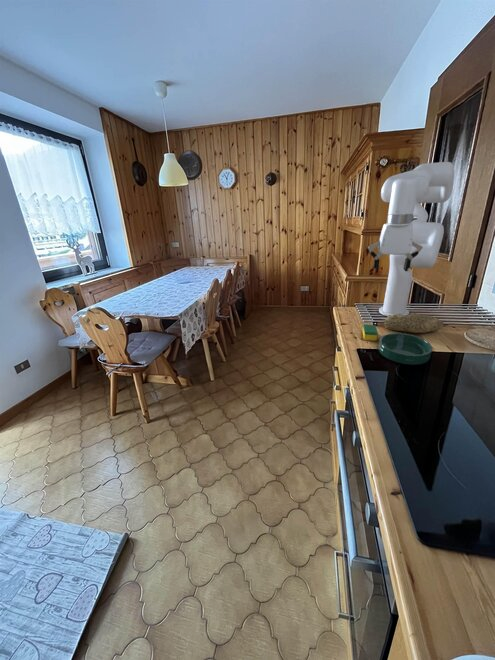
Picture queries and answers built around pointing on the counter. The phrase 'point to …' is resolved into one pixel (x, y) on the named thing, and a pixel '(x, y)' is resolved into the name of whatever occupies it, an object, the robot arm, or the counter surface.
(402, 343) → the bowl
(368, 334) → the small sponge
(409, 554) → the counter surface
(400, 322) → the sponge
